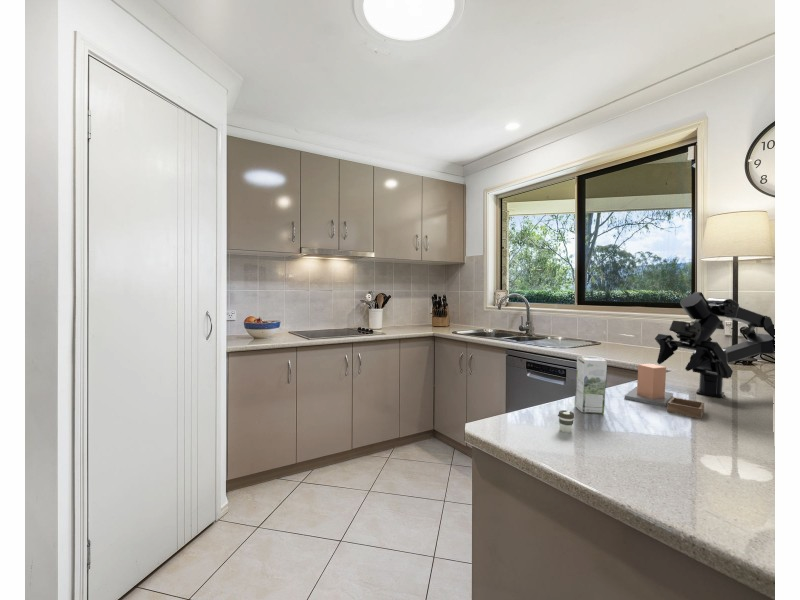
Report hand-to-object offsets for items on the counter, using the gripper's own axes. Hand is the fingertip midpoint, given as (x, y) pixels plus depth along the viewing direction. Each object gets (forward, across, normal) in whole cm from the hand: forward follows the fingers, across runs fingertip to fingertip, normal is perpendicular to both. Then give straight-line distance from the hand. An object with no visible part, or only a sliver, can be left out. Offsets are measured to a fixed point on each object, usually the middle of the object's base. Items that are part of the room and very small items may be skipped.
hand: (671, 366), depth 117 cm
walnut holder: (+13, +12, +1) cm, 17 cm away
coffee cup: (+42, +16, -28) cm, 53 cm away
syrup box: (+31, +5, -17) cm, 35 cm away
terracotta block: (+11, 0, +1) cm, 11 cm away
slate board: (+12, -1, +2) cm, 12 cm away
